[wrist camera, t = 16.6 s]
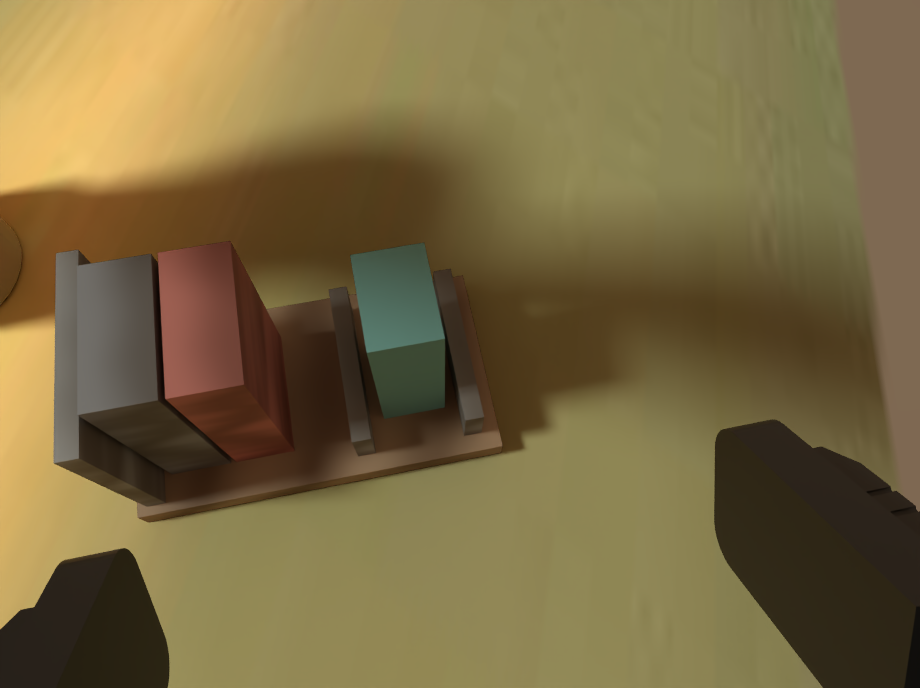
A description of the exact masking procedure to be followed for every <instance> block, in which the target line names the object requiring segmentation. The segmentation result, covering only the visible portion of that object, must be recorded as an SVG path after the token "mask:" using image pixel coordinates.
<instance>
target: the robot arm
mask: <svg viewBox="0 0 920 688" xmlns="http://www.w3.org/2000/svg"><path fill="white" fill-rule="evenodd" d="M21 260H22V252H21V247H20V243H19V240H18V238H17V236H16V234H15V232H14V230H13V229H12V228H11V227H10V226H9V225H8V224H7V223H6V222H5V221H4V220H3V219H2V218H1V217H0V305H1V304H2V302H3V301H4V300H5V299H6V297H7V296H8V295H9V294H10V292H11V290H12V289H13V287H14V285H15V283H16V281H17V279H18V275H19V272H20V269H21ZM714 523H715V531H716V536H717V539H718V543H719V546H720V549H721V551H722V553H723V556H724V558H725V560H726V561H727V563H728V565H729V566H730V567H731V569H732V570H733V571H734V573H735V574H736V575H737V577H738V578H739V579H740V581H741V582H742V583H743V584H744V586H745V587H746V588H747V590H748V591H749V592H750V594H751V595H752V596H753V597H754V599H755V600H756V601H757V603H758V604H759V605H760V606H761V608H762V609H763V610H764V612H765V613H766V614H767V616H768V617H769V618H770V619H771V621H772V622H773V623H774V625H775V626H776V627H777V629H778V630H779V631H780V632H781V634H782V635H783V636H784V638H785V639H786V640H787V641H788V643H789V644H790V645H791V647H792V648H793V649H794V651H795V652H796V653H797V654H798V656H799V657H800V658H801V660H802V661H803V662H804V664H805V665H806V666H807V667H808V669H809V670H810V671H811V673H812V674H813V675H814V677H815V678H816V679H817V680H818V682H819V683H820V684H821V686H822V687H823V688H920V512H918V511H917V510H916V506H915V505H914V504H913V503H911V502H910V501H909V500H907V499H906V498H905V497H904V496H902V495H901V494H900V493H898V492H897V491H894V492H892V490H891V487H890V486H889V485H888V484H887V483H886V482H884V481H883V480H882V479H880V478H879V477H878V476H876V475H875V474H874V473H873V472H871V471H870V470H869V469H867V468H866V467H865V466H864V465H862V464H861V463H859V462H857V461H854V460H852V459H849V458H847V457H845V456H842V455H840V454H838V453H835V452H833V451H831V450H828V449H826V448H824V447H817V448H812V447H811V446H809V445H808V444H807V443H806V442H804V441H803V440H802V439H801V438H800V437H798V436H797V435H796V434H795V433H794V432H792V431H791V430H790V429H789V428H787V427H786V426H785V425H784V424H782V423H781V422H780V421H777V420H767V421H762V422H757V423H752V424H747V425H742V426H737V427H732V428H727V429H723V430H721V431H720V432H719V433H718V435H717V437H716V442H715V502H714ZM168 682H169V653H168V647H167V642H166V638H165V635H164V632H163V630H162V627H161V624H160V622H159V619H158V617H157V614H156V611H155V609H154V606H153V603H152V601H151V598H150V595H149V593H148V590H147V588H146V585H145V582H144V580H143V577H142V574H141V572H140V569H139V566H138V564H137V562H136V559H135V557H134V556H133V554H132V553H131V552H130V551H129V550H128V549H125V548H123V549H118V550H113V551H108V552H103V553H98V554H93V555H88V556H83V557H78V558H73V559H68V560H64V561H62V562H61V563H60V564H59V565H58V566H57V567H56V569H55V571H54V573H53V574H52V576H51V578H50V580H49V582H48V583H47V585H46V587H45V589H44V591H43V593H42V594H41V596H40V598H39V600H38V602H37V603H36V605H35V607H33V608H28V609H23V610H20V611H19V612H18V613H17V614H16V615H15V616H14V617H13V618H12V619H11V620H10V621H9V622H8V623H7V624H6V625H5V626H4V627H2V628H1V629H0V688H167V687H168Z"/></svg>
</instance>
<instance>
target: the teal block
mask: <svg viewBox="0 0 920 688" xmlns="http://www.w3.org/2000/svg"><path fill="white" fill-rule="evenodd" d="M350 257H351V263H352V269H353V275H354V281H355V287H356V293H357V299H358V305H359V310H360V316H361V322H362V328H363V334H364V340H365V346H366V352H367V356H368V360H369V363H370V367H371V371H372V375H373V379H374V382H375V386H376V390H377V394H378V398H379V401H380V405H381V409H382V413H383V416H384V419H387V418H392V417H398V416H403V415H408V414H413V413H419V412H424V411H429V410H434V409H439V408H445V336H444V332H443V327H442V322H441V318H440V313H439V309H438V304H437V299H436V295H435V290H434V286H433V281H432V276H431V272H430V267H429V262H428V258H427V253H426V249H425V244H424V243H419V244H413V245H407V246H401V247H395V248H389V249H383V250H377V251H371V252H365V253H359V254H353V255H350Z"/></svg>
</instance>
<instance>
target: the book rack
mask: <svg viewBox="0 0 920 688" xmlns="http://www.w3.org/2000/svg"><path fill="white" fill-rule="evenodd" d="M433 277H434V281H433V286H434V290H435V295H436V299H437V304H438V309H439V313H440V318H441V322H442V327H443V332H444V336H445V408H439V409H434V410H429V411H424V412H419V413H413V414H408V415H403V416H398V417H392V418H387V419H384V416H383V413H382V409H381V405H380V401H379V398H378V394H377V390H376V386H375V382H374V379H373V375H372V371H371V367H370V363H369V360H368V356H367V352H366V346H365V340H364V334H363V328H362V322H361V316H360V310H359V305H358V299H357V294H352V295H348V291H347V287H341V288H335V289H329V295H330V298H329V299H323V300H317V301H312V302H306V303H300V304H294V305H288V306H283V307H277V308H271V309H266V308H265V306H264V304H263V302H262V300H261V298H260V296H259V294H258V293H257V291H256V289H255V287H254V285H253V283H252V281H251V279H250V277H249V276H248V274H247V272H246V270H245V268H244V266H243V264H242V262H241V260H240V259H239V257H238V255H237V253H236V251H235V249H234V247H233V245H232V243H231V241H227V242H221V243H214V244H208V245H202V246H196V247H190V248H184V249H177V250H171V251H165V252H159V253H158V263H157V261H156V260H155V259H154V257H153V256H152V254H147V255H141V256H134V257H128V258H122V259H116V260H110V261H104V262H97V263H90V262H89V261H88V260H87V259H86V258H85V256H84V255H83V254H82V253H81V252H80V251H79V250H74V251H67V252H61V253H56V291H55V383H54V464H56V465H58V466H61V467H63V468H65V469H67V470H69V471H71V472H73V473H76V474H78V475H80V476H82V477H84V478H86V479H88V480H91V481H93V482H95V483H97V484H99V485H101V486H103V487H106V488H108V489H110V490H112V491H114V492H116V493H118V494H121V495H123V496H125V497H127V498H129V499H131V500H133V501H136V502H137V513H138V518H139V519H142V520H144V521H146V522H153V521H158V520H163V519H168V518H173V517H178V516H183V515H188V514H193V513H198V512H203V511H208V510H213V509H218V508H223V507H228V506H233V505H239V504H244V503H249V502H254V501H259V500H264V499H269V498H274V497H279V496H284V495H289V494H294V493H299V492H304V491H309V490H314V489H319V488H325V487H330V486H335V485H340V484H345V483H350V482H355V481H360V480H365V479H370V478H375V477H380V476H385V475H390V474H395V473H400V472H405V471H411V470H416V469H421V468H426V467H431V466H436V465H441V464H446V463H451V462H456V461H461V460H466V459H471V458H476V457H481V456H486V455H491V454H497V453H501V450H502V441H501V437H500V433H499V428H498V424H497V420H496V416H495V411H494V407H493V403H492V398H491V394H490V390H489V386H488V381H487V377H486V373H485V368H484V364H483V360H482V356H481V351H480V347H479V343H478V338H477V334H476V330H475V326H474V321H473V317H472V313H471V308H470V304H469V300H468V296H467V291H466V287H465V283H464V278H463V276H457V277H452V273H451V269H446V270H440V271H434V272H433Z"/></svg>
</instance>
